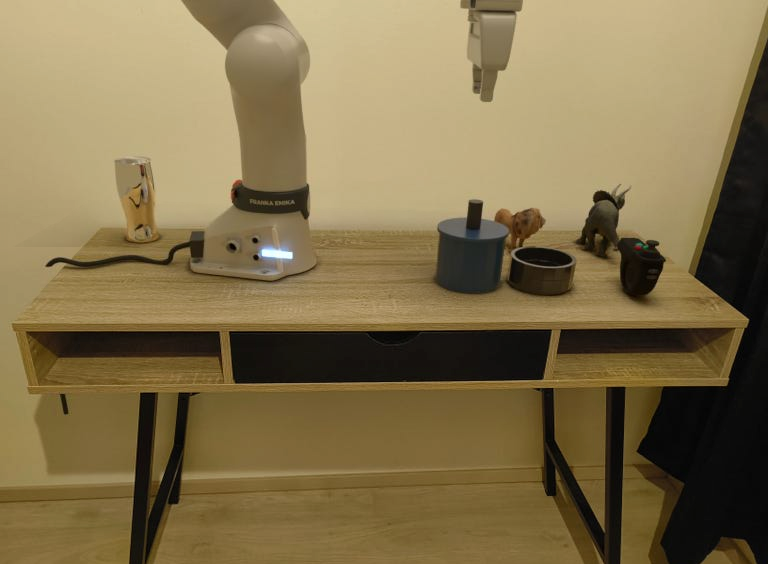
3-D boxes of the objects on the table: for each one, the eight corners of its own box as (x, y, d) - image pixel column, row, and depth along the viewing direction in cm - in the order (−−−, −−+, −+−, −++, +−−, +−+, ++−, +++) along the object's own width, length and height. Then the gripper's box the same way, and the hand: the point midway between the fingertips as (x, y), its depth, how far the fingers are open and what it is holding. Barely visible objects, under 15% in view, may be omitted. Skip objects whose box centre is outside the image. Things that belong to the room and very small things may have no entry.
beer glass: (133, 231, 137) (123, 155, 130) (166, 233, 136) (158, 157, 129) (118, 242, 131) (106, 162, 124) (152, 244, 130) (142, 165, 123)
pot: (438, 292, 114) (442, 240, 109) (433, 268, 123) (437, 220, 119) (503, 294, 114) (510, 243, 109) (494, 271, 123) (500, 222, 119)
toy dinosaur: (615, 270, 126) (628, 210, 120) (569, 263, 128) (579, 204, 123) (620, 236, 144) (631, 183, 139) (579, 231, 146) (588, 178, 141)
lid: (439, 244, 109) (442, 210, 106) (434, 222, 120) (436, 190, 117) (513, 247, 109) (518, 212, 106) (502, 225, 120) (506, 193, 117)
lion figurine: (544, 254, 132) (552, 209, 128) (525, 259, 130) (532, 212, 125) (492, 233, 143) (498, 191, 139) (473, 237, 140) (478, 194, 136)
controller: (632, 305, 111) (646, 247, 106) (606, 278, 122) (618, 223, 117) (658, 306, 111) (673, 247, 107) (630, 278, 122) (642, 224, 117)
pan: (512, 294, 114) (516, 266, 111) (502, 271, 123) (506, 245, 121) (578, 297, 114) (583, 269, 111) (563, 273, 123) (567, 247, 121)
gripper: (462, -5, 108) (454, 88, 115) (478, -5, 90) (468, 105, 97) (502, -4, 108) (492, 89, 115) (526, -4, 90) (512, 107, 96)
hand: (481, 97), depth 105 cm, fingers open, 8 cm apart
